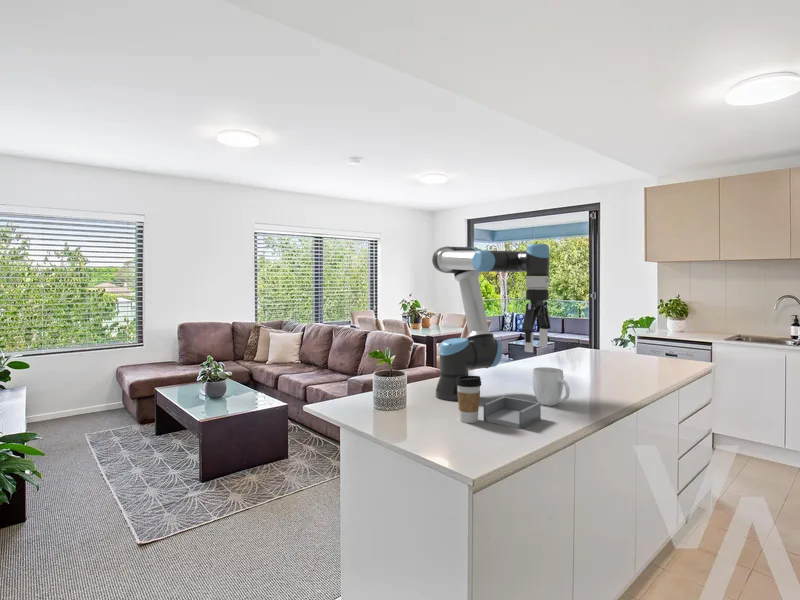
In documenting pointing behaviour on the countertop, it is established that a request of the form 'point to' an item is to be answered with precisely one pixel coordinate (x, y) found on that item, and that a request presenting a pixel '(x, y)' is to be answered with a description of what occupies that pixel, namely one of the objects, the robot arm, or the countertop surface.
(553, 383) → the mug
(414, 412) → the countertop surface
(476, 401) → the coffee cup
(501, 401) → the dock
